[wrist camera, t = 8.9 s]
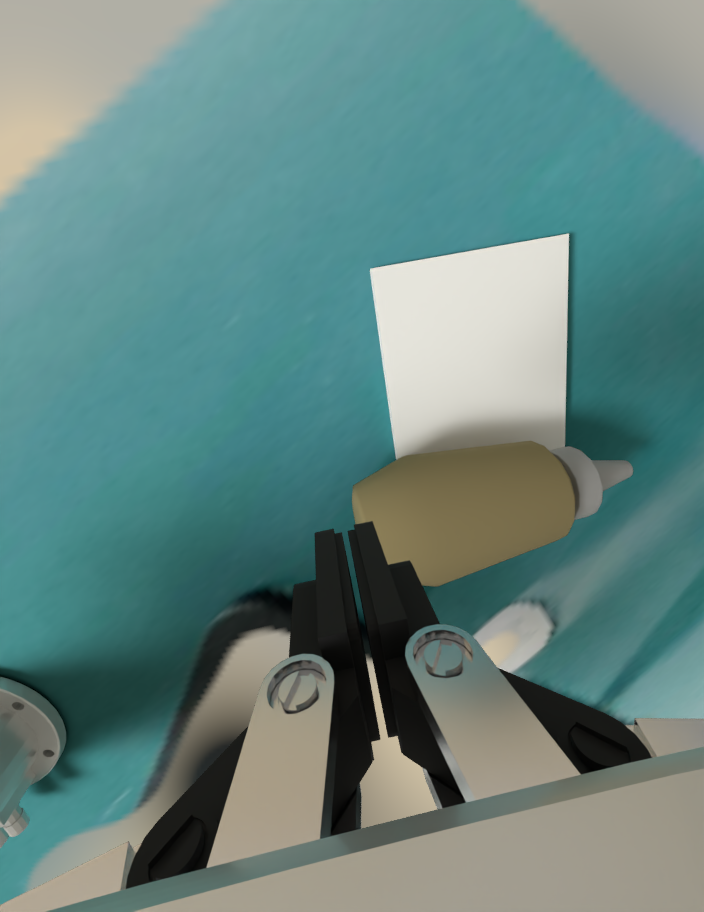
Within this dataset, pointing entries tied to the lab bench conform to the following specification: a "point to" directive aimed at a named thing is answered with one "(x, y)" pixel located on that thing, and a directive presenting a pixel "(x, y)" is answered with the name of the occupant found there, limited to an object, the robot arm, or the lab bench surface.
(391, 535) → the squeeze bottle
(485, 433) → the mat
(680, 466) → the lab bench surface
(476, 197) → the lab bench surface
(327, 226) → the lab bench surface
